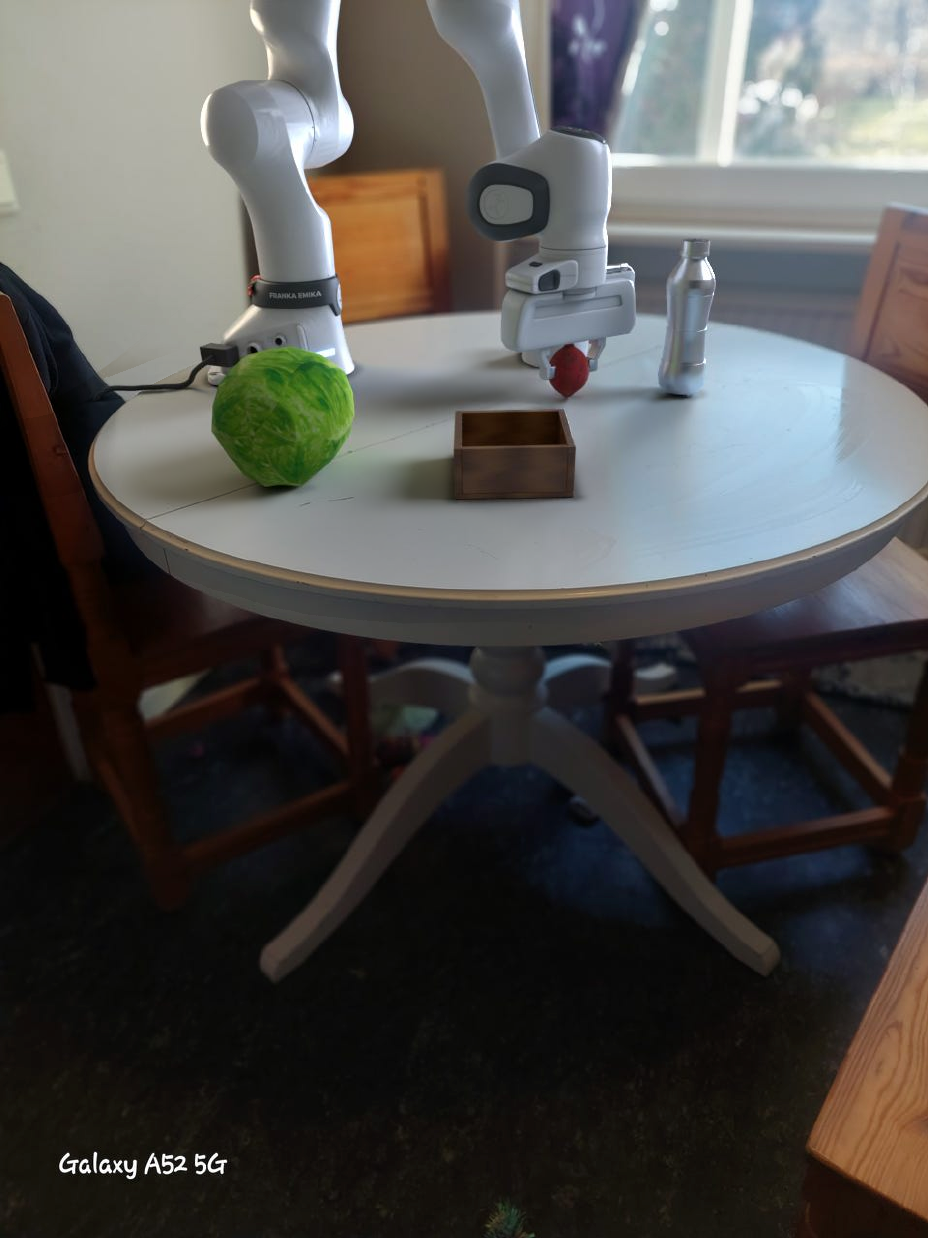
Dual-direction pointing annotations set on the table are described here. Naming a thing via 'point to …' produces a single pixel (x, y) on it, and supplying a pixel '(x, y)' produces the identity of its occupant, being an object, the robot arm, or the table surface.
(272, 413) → the lettuce
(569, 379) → the onion
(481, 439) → the brown bin
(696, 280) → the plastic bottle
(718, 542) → the table surface
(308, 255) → the robot arm
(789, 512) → the table surface
